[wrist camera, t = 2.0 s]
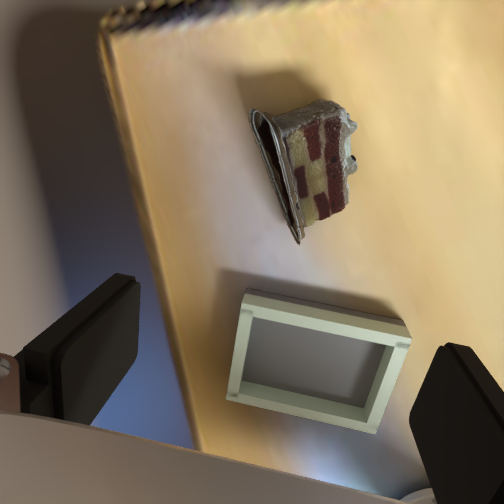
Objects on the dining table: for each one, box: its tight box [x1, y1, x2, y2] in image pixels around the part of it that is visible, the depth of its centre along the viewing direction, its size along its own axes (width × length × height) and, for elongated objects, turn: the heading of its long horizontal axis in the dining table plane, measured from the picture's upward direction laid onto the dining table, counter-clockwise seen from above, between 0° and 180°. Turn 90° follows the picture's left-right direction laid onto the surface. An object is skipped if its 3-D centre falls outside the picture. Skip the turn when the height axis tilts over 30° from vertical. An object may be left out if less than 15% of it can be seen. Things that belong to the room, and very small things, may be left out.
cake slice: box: [249, 99, 358, 245], centre depth 29 cm, size 10×7×12 cm
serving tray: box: [226, 288, 412, 434], centre depth 36 cm, size 16×12×3 cm
